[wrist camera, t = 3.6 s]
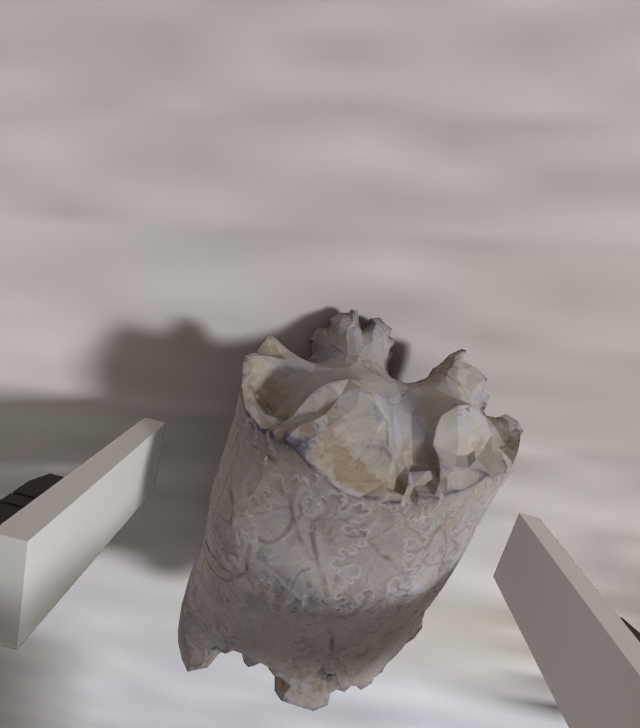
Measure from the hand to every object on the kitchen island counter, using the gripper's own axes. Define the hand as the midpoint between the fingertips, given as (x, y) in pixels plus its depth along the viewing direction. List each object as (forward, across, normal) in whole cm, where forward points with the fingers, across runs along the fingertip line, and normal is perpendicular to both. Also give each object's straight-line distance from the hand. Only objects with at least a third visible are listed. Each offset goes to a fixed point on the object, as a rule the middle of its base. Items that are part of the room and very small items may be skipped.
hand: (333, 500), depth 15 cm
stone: (+2, 0, +1) cm, 2 cm away
